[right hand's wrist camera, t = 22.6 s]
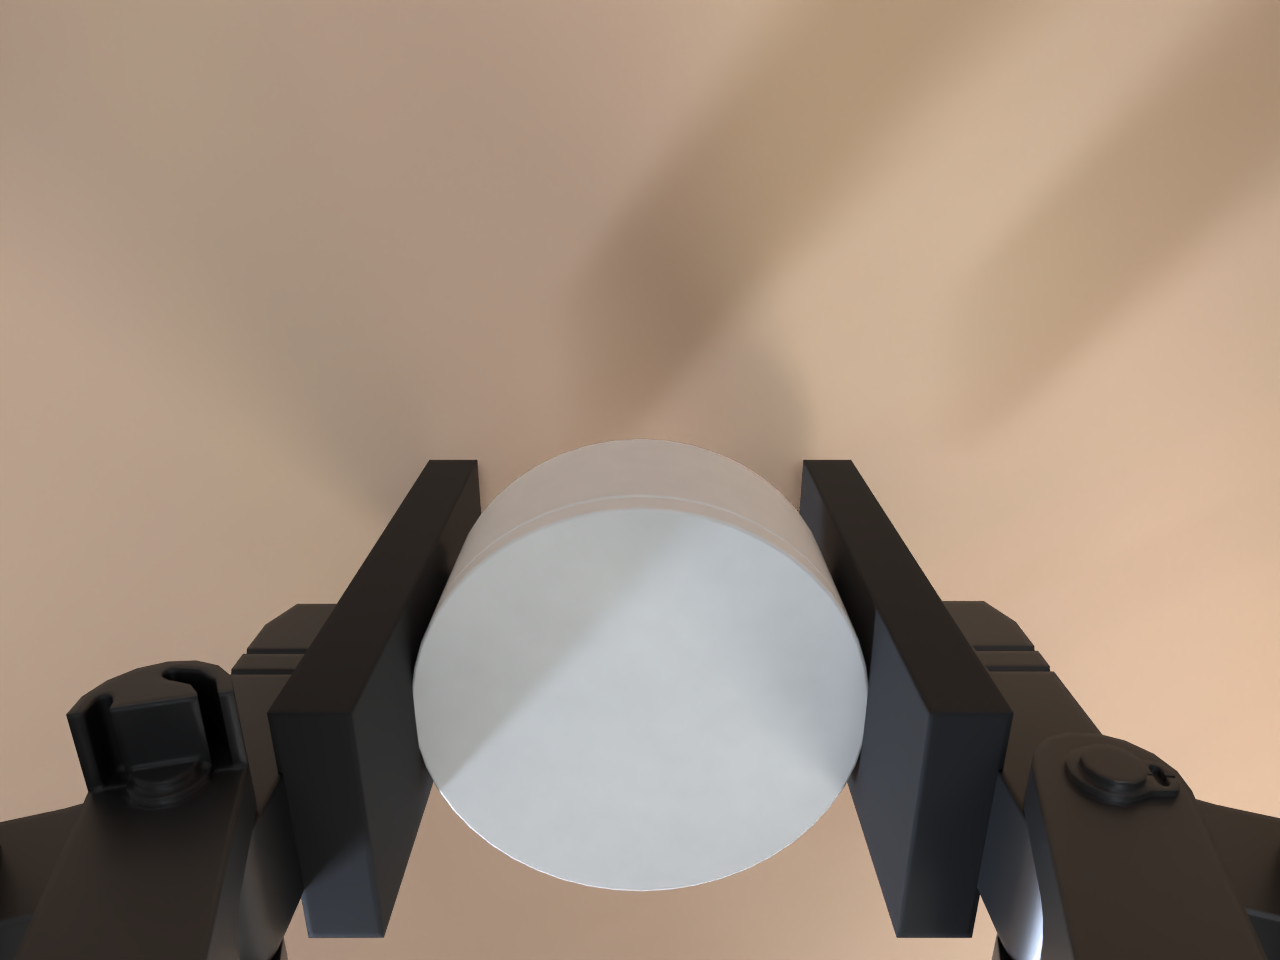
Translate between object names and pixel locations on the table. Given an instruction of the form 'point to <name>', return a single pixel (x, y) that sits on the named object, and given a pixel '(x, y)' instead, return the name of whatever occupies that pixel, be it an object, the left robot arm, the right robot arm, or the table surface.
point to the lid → (640, 670)
